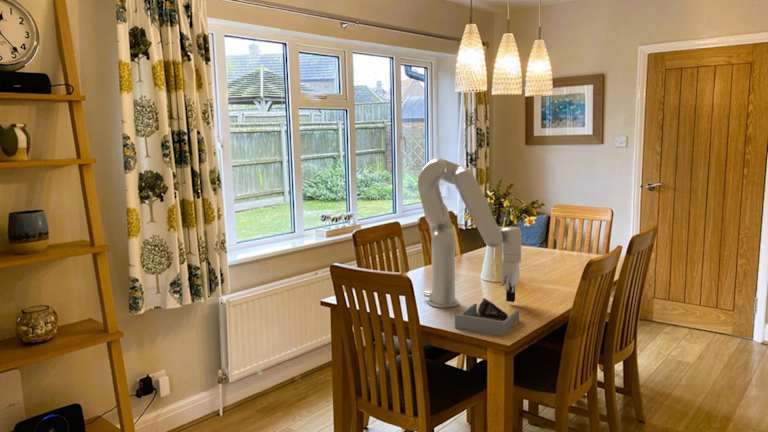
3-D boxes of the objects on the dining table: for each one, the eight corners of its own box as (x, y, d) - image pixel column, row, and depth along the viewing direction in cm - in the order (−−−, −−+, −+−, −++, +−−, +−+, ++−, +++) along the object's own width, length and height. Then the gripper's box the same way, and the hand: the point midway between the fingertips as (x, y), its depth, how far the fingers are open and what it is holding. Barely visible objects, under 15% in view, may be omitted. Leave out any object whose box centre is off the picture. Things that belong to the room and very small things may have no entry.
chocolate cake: (515, 318, 222) (496, 292, 227) (510, 318, 215) (491, 292, 220) (496, 332, 224) (478, 307, 229) (490, 332, 218) (472, 306, 223)
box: (454, 327, 210) (454, 314, 209) (474, 313, 226) (474, 300, 225) (502, 336, 201) (502, 322, 200) (519, 320, 217) (519, 307, 216)
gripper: (508, 252, 241) (507, 295, 244) (496, 260, 229) (495, 304, 231) (525, 254, 238) (524, 297, 240) (514, 262, 225) (513, 307, 228)
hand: (510, 301), depth 236 cm, fingers closed
